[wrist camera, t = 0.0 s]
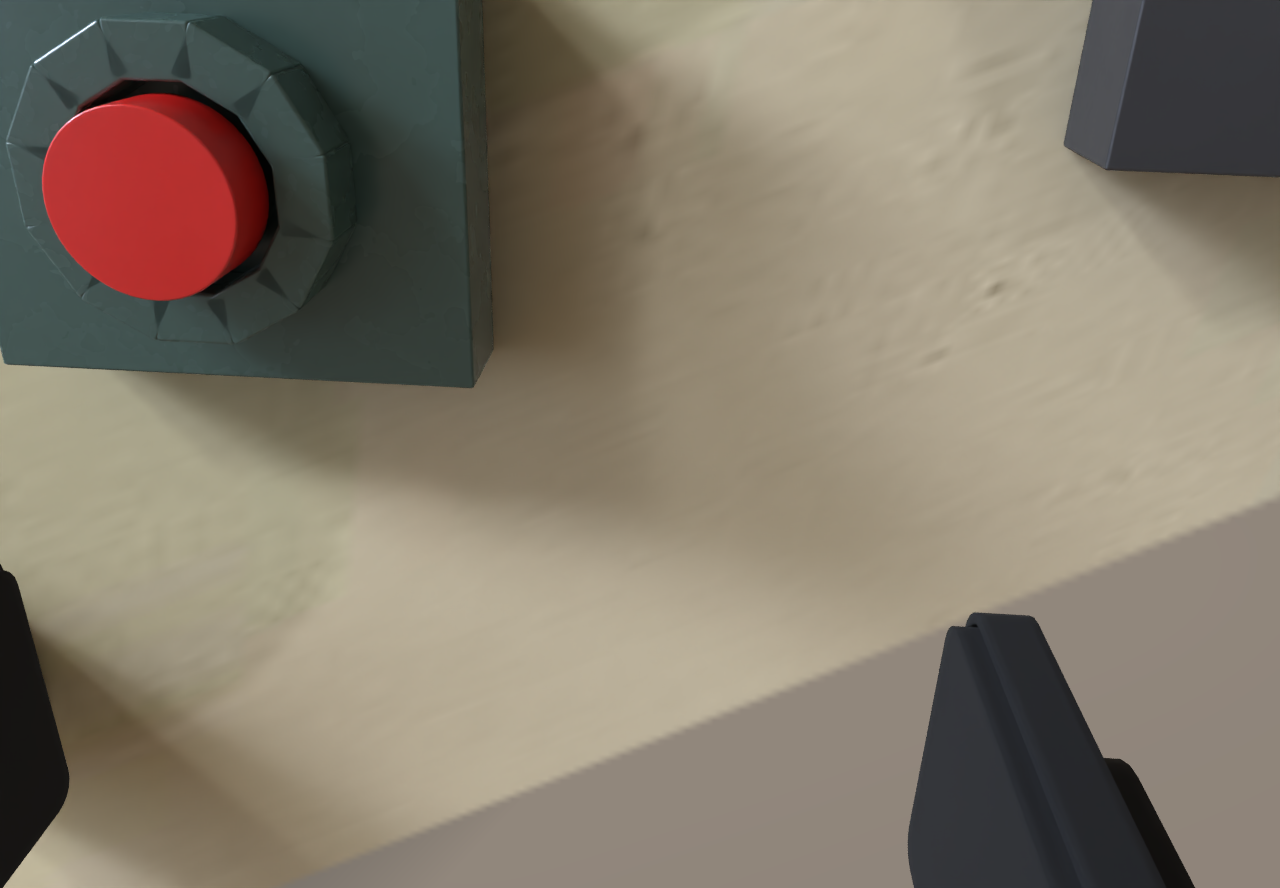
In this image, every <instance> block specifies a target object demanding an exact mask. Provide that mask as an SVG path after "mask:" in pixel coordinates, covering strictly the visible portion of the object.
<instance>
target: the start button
mask: <svg viewBox="0 0 1280 888" xmlns="http://www.w3.org/2000/svg"><path fill="white" fill-rule="evenodd" d="M42 191H43V197H44V203H45V207H46V210H47V214H48V217H49V219H50V222H51V224H52V226H53V229H54V230H55V232H56V234H57V236H58V238H59V240H60V241H61V242H62V244H63V245H64V247H65V248H66V250H67V251H68V252H69V253H70V255H71V256H72V257H73V258H74V259H75V261H76V262H77V263H78V264H80V265H81V266H82V267H83V268H84V269H85V270H86V271H87V272H88V273H90V274H91V275H92V276H93V277H95V278H96V279H97V280H99V281H101V282H102V283H104V284H105V285H107V286H109V287H111V288H113V289H115V290H117V291H119V292H121V293H124V294H127V295H130V296H133V297H137V298H141V299H146V300H155V301H170V300H177V299H182V298H186V297H189V296H192V295H194V294H196V293H199V292H201V291H203V290H204V289H206V288H207V287H208V286H210V285H211V284H213V283H214V282H216V281H217V280H219V279H220V278H222V277H223V276H224V275H226V274H227V273H229V272H230V271H232V270H233V269H235V268H236V267H237V266H239V265H240V264H242V263H243V262H244V261H245V260H246V259H247V258H248V257H250V256H251V254H252V253H253V252H254V250H255V249H256V248H257V246H258V244H259V243H260V241H261V239H262V237H263V234H264V231H265V229H266V225H267V220H268V213H269V195H268V188H267V183H266V179H265V175H264V172H263V169H262V167H261V164H260V162H259V160H258V158H257V156H256V154H255V152H254V151H253V149H252V147H251V146H250V144H249V143H248V141H247V140H246V139H245V137H244V136H243V135H242V134H241V133H240V132H239V130H238V129H237V128H236V127H235V126H234V125H233V124H232V123H231V122H229V121H228V120H227V119H226V118H225V117H224V116H222V115H221V114H219V113H218V112H217V111H215V110H214V109H212V108H210V107H209V106H207V105H205V104H203V103H201V102H199V101H196V100H194V99H191V98H188V97H185V96H181V95H177V94H171V93H147V94H141V95H137V96H133V97H129V98H126V99H122V100H118V101H114V102H111V103H107V104H103V105H100V106H96V107H93V108H90V109H87V110H85V111H83V112H81V113H79V114H78V115H76V116H74V117H73V118H72V119H70V120H69V121H68V122H66V123H65V124H64V126H63V127H62V128H61V129H60V130H59V131H58V132H57V134H56V135H55V137H54V138H53V140H52V142H51V144H50V146H49V148H48V151H47V153H46V157H45V161H44V164H43V173H42Z"/></svg>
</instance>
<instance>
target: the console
mask: <svg viewBox="0 0 1280 888" xmlns="http://www.w3.org/2000/svg"><path fill="white" fill-rule="evenodd" d="M147 93H171V94H177V95H181V96H185V97H188V98H191V99H194V100H196V101H199V102H201V103H203V104H205V105H207V106H209V107H210V108H212V109H214V110H215V111H217V112H218V113H219V114H221V115H222V116H224V117H225V118H226V119H227V120H228V121H229V122H231V123H232V124H233V125H234V126H235V127H236V128H237V129H238V130H239V132H240V133H241V134H242V135H243V136H244V137H245V139H246V140H247V141H248V143H249V144H250V146H251V147H252V149H253V151H254V152H255V154H256V156H257V158H258V160H259V162H260V164H261V167H262V169H263V172H264V175H265V179H266V183H267V188H268V195H269V213H268V220H267V225H266V229H265V231H264V234H263V237H262V239H261V241H260V243H259V244H258V246H257V248H256V249H255V250H254V252H253V253H252V254H251V256H250V257H248V258H247V259H246V260H245V261H244V262H243V263H242V264H240V265H239V266H237V267H236V268H235V269H233V270H232V271H230V272H229V273H227V274H226V275H224V276H223V277H222V278H220V279H219V280H217V281H216V282H214V283H213V284H211V285H210V286H208V287H207V288H206V289H204V290H203V291H201V292H199V293H196V294H194V295H192V296H189V297H186V298H182V299H177V300H170V301H155V300H146V299H141V298H137V297H133V296H130V295H127V294H124V293H121V292H119V291H117V290H115V289H113V288H111V287H109V286H107V285H105V284H104V283H102V282H101V281H99V280H97V279H96V278H95V277H93V276H92V275H91V274H90V273H88V272H87V271H86V270H85V269H84V268H83V267H82V266H81V265H80V264H78V263H77V262H76V261H75V259H74V258H73V257H72V256H71V255H70V253H69V252H68V251H67V250H66V248H65V247H64V245H63V244H62V242H61V241H60V240H59V238H58V236H57V234H56V232H55V230H54V229H53V226H52V224H51V222H50V219H49V217H48V214H47V210H46V207H45V203H44V197H43V191H42V173H43V164H44V161H45V157H46V153H47V151H48V148H49V146H50V144H51V142H52V140H53V138H54V137H55V135H56V134H57V132H58V131H59V130H60V129H61V128H62V127H63V126H64V124H65V123H66V122H68V121H69V120H70V119H72V118H73V117H74V116H76V115H78V114H79V113H81V112H83V111H85V110H87V109H90V108H93V107H96V106H100V105H103V104H107V103H111V102H114V101H118V100H122V99H126V98H129V97H133V96H137V95H141V94H147ZM0 348H1V352H2V356H3V360H4V363H5V364H8V365H28V366H47V367H67V368H87V369H106V370H126V371H146V372H165V373H185V374H205V375H224V376H244V377H264V378H283V379H303V380H323V381H342V382H362V383H382V384H401V385H421V386H441V387H460V388H473V387H474V386H475V384H476V382H477V380H478V378H479V377H480V375H481V373H482V371H483V369H484V367H485V365H486V363H487V361H488V359H489V357H490V355H491V354H492V352H493V318H492V288H491V257H490V226H489V196H488V165H487V134H486V103H485V73H484V42H483V11H482V0H0Z"/></svg>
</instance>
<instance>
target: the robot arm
mask: <svg viewBox="0 0 1280 888" xmlns="http://www.w3.org/2000/svg"><path fill="white" fill-rule="evenodd" d="M68 789H69V770H68V767H67V763H66V759H65V756H64V752H63V748H62V745H61V741H60V737H59V734H58V730H57V726H56V723H55V719H54V715H53V712H52V708H51V704H50V700H49V697H48V693H47V689H46V686H45V682H44V678H43V675H42V671H41V667H40V664H39V660H38V656H37V653H36V649H35V645H34V642H33V638H32V634H31V631H30V627H29V623H28V620H27V616H26V612H25V609H24V605H23V601H22V598H21V594H20V590H19V587H18V584H17V581H16V579H15V577H14V576H13V575H12V574H11V573H10V572H7V571H4V570H3V568H2V566H1V564H0V888H3V887H4V885H5V884H6V883H7V881H8V880H9V879H10V877H11V876H12V874H13V873H14V872H15V870H16V869H17V868H18V866H19V865H20V864H21V862H22V861H23V860H24V858H25V857H26V856H27V854H28V853H29V852H30V850H31V849H32V848H33V846H34V845H35V844H36V842H37V841H38V840H39V838H40V837H41V836H42V834H43V833H44V831H45V830H46V829H47V827H48V826H49V825H50V823H51V822H52V821H53V819H54V818H55V817H56V815H57V814H58V813H59V811H60V809H61V808H62V806H63V804H64V802H65V799H66V797H67V793H68ZM908 858H909V865H910V871H911V875H912V880H913V885H914V888H1195V887H1194V885H1193V883H1192V881H1191V879H1190V877H1189V875H1188V873H1187V871H1186V869H1185V867H1184V866H1183V864H1182V861H1181V860H1180V858H1179V856H1178V854H1177V852H1176V850H1175V848H1174V846H1173V844H1172V842H1171V840H1170V838H1169V836H1168V834H1167V832H1166V830H1165V829H1164V827H1163V825H1162V823H1161V821H1160V819H1159V817H1158V815H1157V813H1156V811H1155V809H1154V807H1153V805H1152V804H1151V801H1150V799H1149V798H1148V796H1147V794H1146V792H1145V790H1144V788H1143V786H1142V784H1141V782H1140V780H1139V778H1138V777H1137V775H1136V774H1135V772H1134V771H1133V769H1132V768H1131V767H1130V765H1129V764H1127V763H1125V762H1124V761H1123V760H1121V759H1110V758H1103V756H1102V754H1101V752H1100V750H1099V748H1098V746H1097V744H1096V742H1095V740H1094V738H1093V735H1092V734H1091V731H1090V729H1089V727H1088V725H1087V723H1086V721H1085V719H1084V717H1083V715H1082V713H1081V711H1080V709H1079V707H1078V705H1077V703H1076V700H1075V698H1074V696H1073V694H1072V692H1071V690H1070V688H1069V686H1068V684H1067V682H1066V680H1065V678H1064V676H1063V674H1062V672H1061V670H1060V668H1059V665H1058V663H1057V661H1056V659H1055V657H1054V655H1053V653H1052V651H1051V649H1050V647H1049V645H1048V643H1047V641H1046V639H1045V637H1044V635H1043V633H1042V631H1041V628H1040V626H1039V624H1038V623H1037V621H1036V620H1035V618H1033V617H1031V616H1025V615H1009V614H1008V615H1007V614H992V613H972V614H971V615H970V616H969V618H968V620H967V623H966V626H965V627H959V626H952V627H950V628H949V630H948V632H947V635H946V638H945V643H944V649H943V654H942V659H941V664H940V669H939V675H938V680H937V685H936V690H935V695H934V700H933V705H932V711H931V716H930V721H929V726H928V731H927V737H926V742H925V747H924V752H923V757H922V763H921V768H920V773H919V779H918V783H917V788H916V794H915V799H914V804H913V809H912V814H911V820H910V825H909V832H908Z"/></svg>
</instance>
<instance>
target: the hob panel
mask: <svg viewBox="0 0 1280 888" xmlns="http://www.w3.org/2000/svg"><path fill="white" fill-rule="evenodd" d="M1064 146H1065V147H1067V148H1069V149H1071V150H1072V151H1074V152H1076V153H1078V154H1079V155H1081V156H1083V157H1085V158H1086V159H1088V160H1090V161H1092V162H1093V163H1095V164H1097V165H1099V166H1100V167H1102V168H1104V169H1106V170H1113V171H1137V172H1161V173H1185V174H1209V175H1233V176H1257V177H1280V0H1093V2H1092V6H1091V11H1090V16H1089V21H1088V26H1087V31H1086V36H1085V41H1084V46H1083V51H1082V56H1081V61H1080V66H1079V71H1078V76H1077V81H1076V86H1075V91H1074V96H1073V100H1072V105H1071V110H1070V115H1069V120H1068V125H1067V130H1066V135H1065V140H1064Z"/></svg>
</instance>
